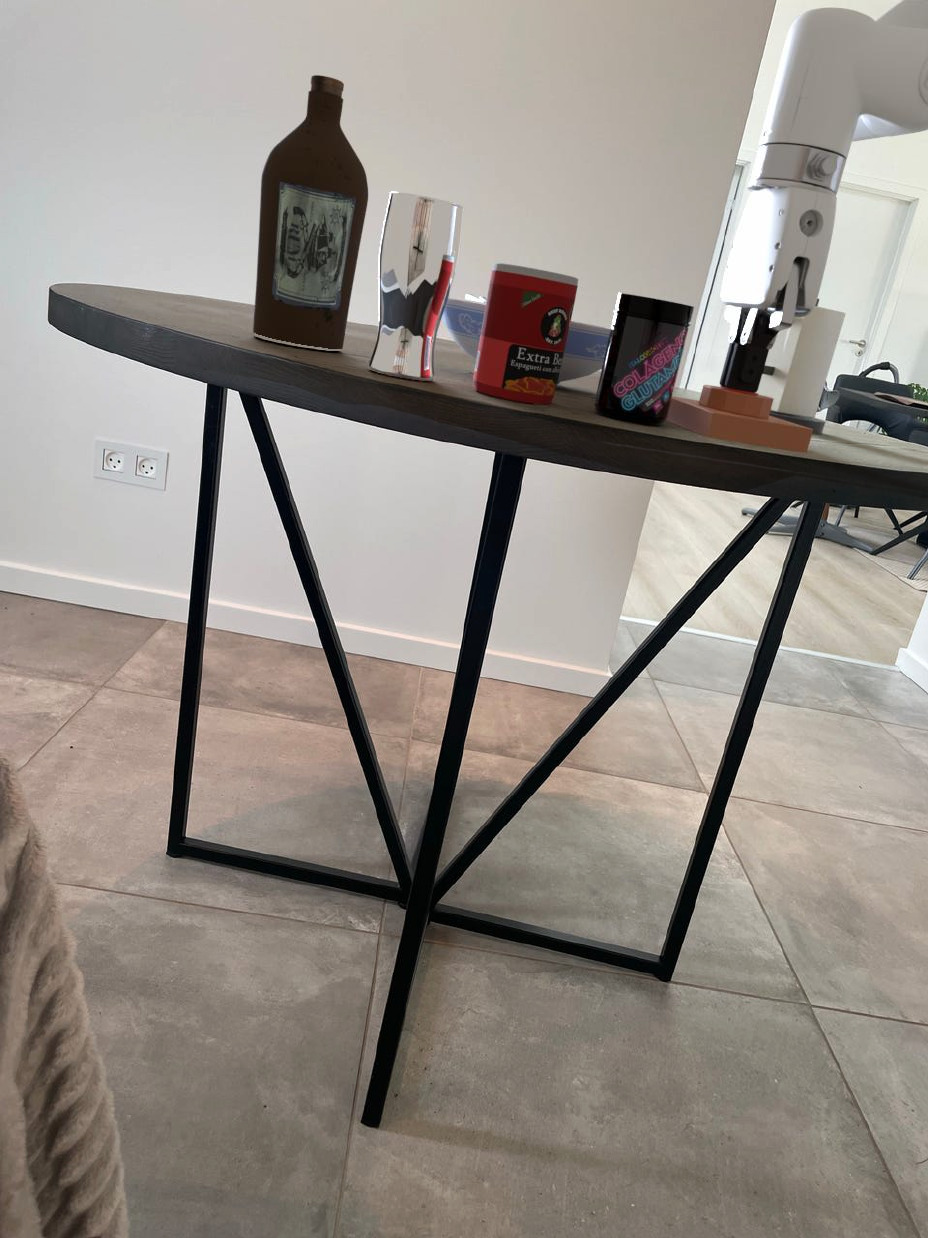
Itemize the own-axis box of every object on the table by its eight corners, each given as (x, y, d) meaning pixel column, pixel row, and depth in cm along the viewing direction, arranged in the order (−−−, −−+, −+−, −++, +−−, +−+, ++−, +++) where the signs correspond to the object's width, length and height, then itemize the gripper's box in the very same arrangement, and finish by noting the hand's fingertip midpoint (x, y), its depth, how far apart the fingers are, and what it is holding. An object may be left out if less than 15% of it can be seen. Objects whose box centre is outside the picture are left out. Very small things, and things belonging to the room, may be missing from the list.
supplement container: (589, 415, 81) (616, 291, 78) (593, 409, 87) (618, 294, 84) (665, 431, 80) (696, 306, 77) (664, 424, 87) (693, 308, 83)
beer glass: (408, 372, 90) (434, 206, 85) (453, 385, 85) (483, 210, 80) (348, 365, 85) (372, 189, 81) (392, 378, 81) (420, 193, 76)
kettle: (792, 410, 116) (823, 302, 112) (828, 419, 111) (862, 306, 107) (727, 400, 111) (757, 287, 107) (761, 409, 106) (794, 291, 102)
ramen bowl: (641, 410, 96) (660, 329, 93) (422, 370, 94) (436, 286, 92) (603, 387, 119) (618, 322, 117) (428, 355, 118) (439, 288, 115)
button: (742, 408, 90) (747, 390, 89) (760, 414, 86) (765, 395, 86) (708, 402, 89) (713, 384, 88) (725, 408, 85) (730, 389, 85)
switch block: (744, 430, 95) (755, 391, 94) (806, 453, 84) (819, 409, 83) (655, 416, 93) (664, 375, 91) (707, 437, 82) (719, 391, 80)
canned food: (507, 401, 80) (532, 267, 76) (453, 384, 86) (475, 259, 82) (571, 408, 84) (598, 281, 81) (516, 392, 90) (539, 273, 87)
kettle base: (713, 410, 115) (716, 398, 115) (791, 423, 118) (794, 412, 117) (756, 425, 105) (759, 411, 105) (840, 439, 108) (844, 426, 107)
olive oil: (245, 331, 101) (269, 75, 93) (341, 347, 104) (373, 100, 96) (247, 340, 92) (275, 55, 83) (353, 357, 95) (390, 83, 86)
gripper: (884, 180, 75) (815, 407, 81) (789, 192, 89) (736, 386, 95) (802, 159, 73) (739, 393, 79) (718, 175, 87) (669, 373, 93)
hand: (737, 389), depth 87 cm, fingers closed
